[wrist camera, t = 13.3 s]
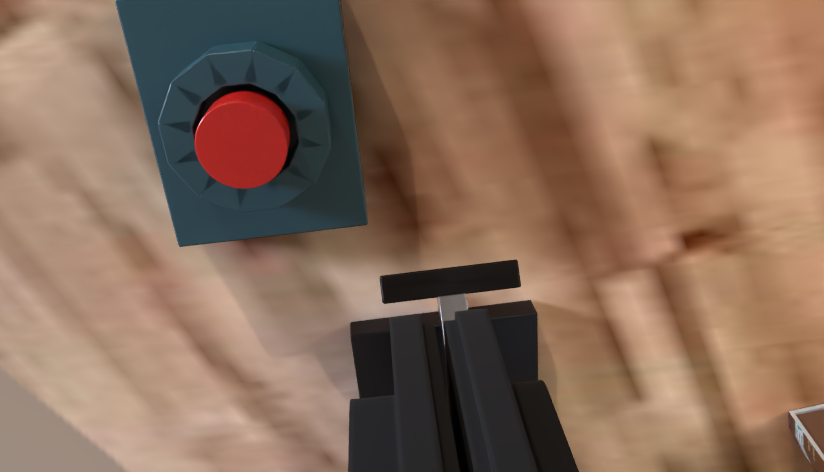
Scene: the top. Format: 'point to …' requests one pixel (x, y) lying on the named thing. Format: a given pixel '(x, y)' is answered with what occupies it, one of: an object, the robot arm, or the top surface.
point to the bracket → (375, 357)
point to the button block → (261, 72)
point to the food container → (809, 433)
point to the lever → (450, 286)
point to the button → (243, 139)
